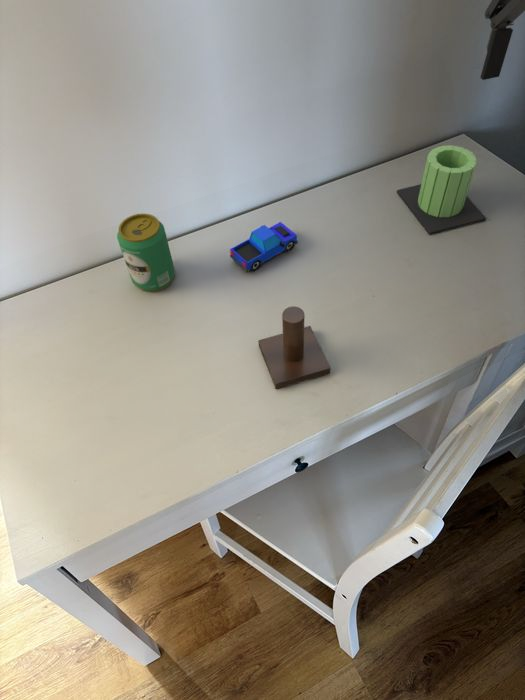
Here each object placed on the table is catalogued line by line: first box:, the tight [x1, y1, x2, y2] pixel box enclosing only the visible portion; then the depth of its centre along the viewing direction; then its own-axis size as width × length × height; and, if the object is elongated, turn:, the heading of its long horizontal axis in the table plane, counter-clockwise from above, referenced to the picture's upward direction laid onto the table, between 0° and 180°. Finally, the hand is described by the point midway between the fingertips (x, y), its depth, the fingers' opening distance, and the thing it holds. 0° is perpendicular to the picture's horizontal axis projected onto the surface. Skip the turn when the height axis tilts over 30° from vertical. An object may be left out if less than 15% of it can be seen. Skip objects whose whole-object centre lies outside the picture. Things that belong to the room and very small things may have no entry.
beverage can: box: [116, 213, 176, 293], centre depth 94 cm, size 8×8×12 cm
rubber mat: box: [396, 183, 487, 235], centre depth 106 cm, size 14×12×1 cm
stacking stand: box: [257, 305, 332, 390], centre depth 81 cm, size 9×9×11 cm
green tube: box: [418, 144, 478, 217], centre depth 102 cm, size 9×9×10 cm
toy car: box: [229, 221, 299, 273], centre depth 99 cm, size 7×12×5 cm, turn 127°
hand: (515, 99), depth 76 cm, fingers open, 13 cm apart
